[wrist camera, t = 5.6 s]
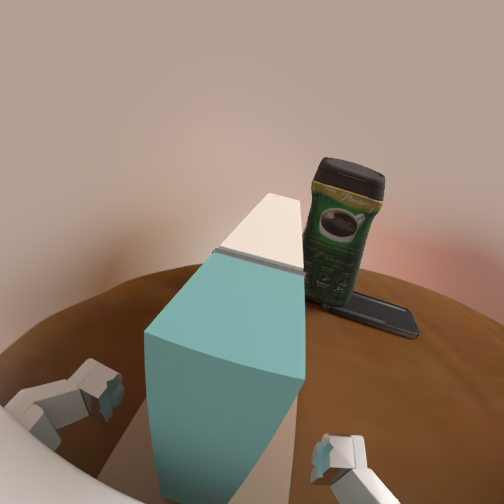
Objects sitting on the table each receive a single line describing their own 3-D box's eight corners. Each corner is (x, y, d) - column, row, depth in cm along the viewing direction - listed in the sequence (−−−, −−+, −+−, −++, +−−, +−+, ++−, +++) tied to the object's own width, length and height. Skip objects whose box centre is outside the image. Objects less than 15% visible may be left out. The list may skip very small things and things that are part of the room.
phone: (326, 281, 41) (411, 309, 37) (323, 288, 41) (408, 315, 37) (321, 304, 33) (421, 336, 30) (318, 311, 34) (418, 342, 30)
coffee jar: (347, 292, 40) (386, 175, 34) (346, 316, 33) (396, 175, 27) (290, 272, 43) (322, 155, 36) (277, 292, 36) (316, 150, 29)
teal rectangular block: (188, 430, 13) (215, 248, 9) (238, 445, 13) (305, 271, 9) (160, 495, 9) (141, 330, 5) (220, 514, 8) (307, 380, 4)
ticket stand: (213, 296, 31) (235, 183, 27) (297, 319, 30) (333, 209, 26) (87, 506, 7) (-51, 325, 2) (272, 564, 6) (484, 491, 2)
